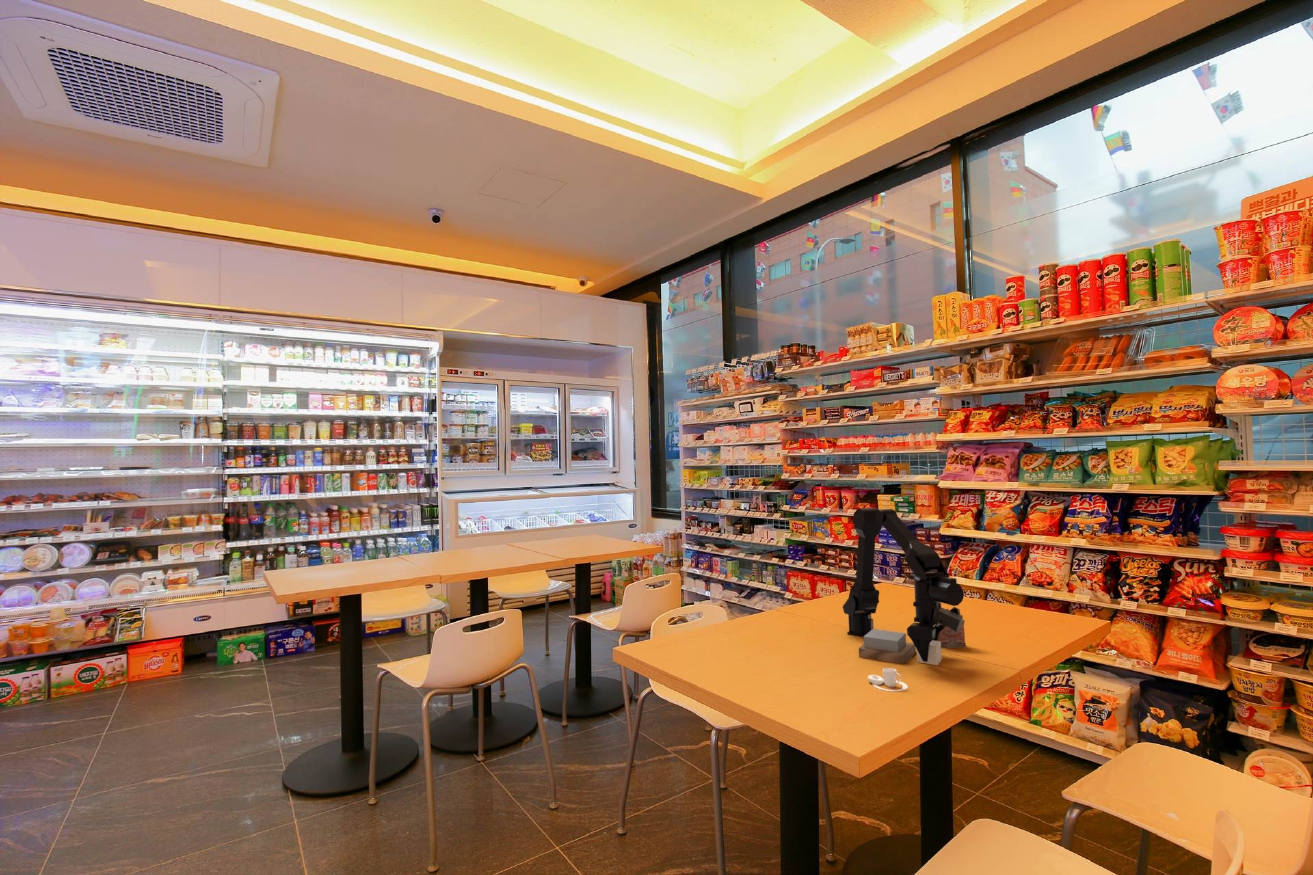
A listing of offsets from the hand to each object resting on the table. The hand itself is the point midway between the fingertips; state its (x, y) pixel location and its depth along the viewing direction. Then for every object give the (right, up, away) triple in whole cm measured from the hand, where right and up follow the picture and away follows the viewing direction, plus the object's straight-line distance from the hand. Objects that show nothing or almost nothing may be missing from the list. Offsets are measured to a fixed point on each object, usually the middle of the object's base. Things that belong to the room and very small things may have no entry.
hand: (929, 656), depth 164 cm
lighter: (+12, -1, +12) cm, 17 cm away
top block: (-9, +1, +7) cm, 11 cm away
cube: (0, -1, 0) cm, 1 cm away
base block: (-9, -2, +6) cm, 11 cm away
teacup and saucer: (-16, -2, -14) cm, 22 cm away
